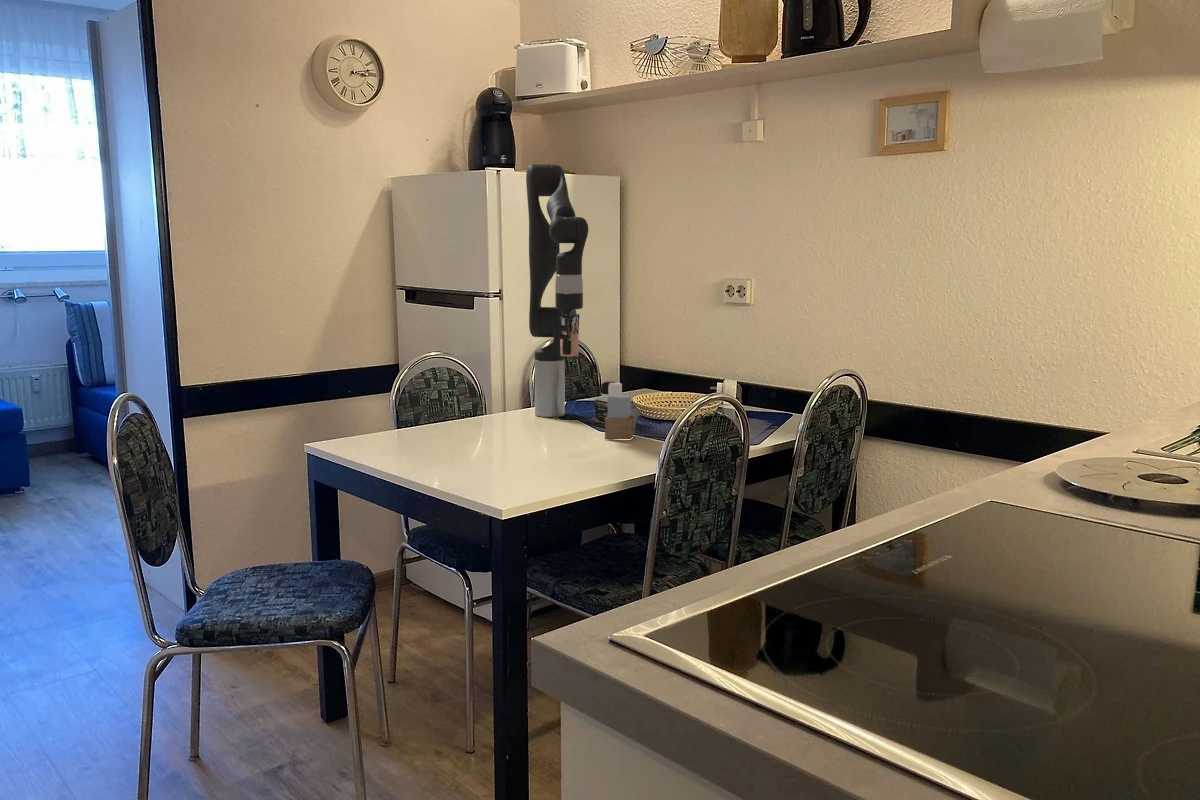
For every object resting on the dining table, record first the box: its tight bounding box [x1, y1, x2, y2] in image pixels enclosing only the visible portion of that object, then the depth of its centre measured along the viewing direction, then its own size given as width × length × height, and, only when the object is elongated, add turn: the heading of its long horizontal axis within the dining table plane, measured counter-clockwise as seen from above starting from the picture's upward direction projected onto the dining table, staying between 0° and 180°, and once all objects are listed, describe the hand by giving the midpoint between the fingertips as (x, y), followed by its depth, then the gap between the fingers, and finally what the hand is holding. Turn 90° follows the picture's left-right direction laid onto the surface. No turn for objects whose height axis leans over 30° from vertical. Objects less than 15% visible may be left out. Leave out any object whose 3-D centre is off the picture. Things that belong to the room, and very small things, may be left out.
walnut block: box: [604, 414, 636, 440], centre depth 258 cm, size 7×7×6 cm
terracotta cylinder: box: [560, 333, 579, 358], centre depth 261 cm, size 5×5×6 cm
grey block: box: [608, 394, 632, 419], centre depth 257 cm, size 6×6×6 cm
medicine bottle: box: [594, 381, 623, 422], centre depth 280 cm, size 7×7×12 cm
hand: (569, 352), depth 261 cm, fingers closed on terracotta cylinder, 5 cm apart
